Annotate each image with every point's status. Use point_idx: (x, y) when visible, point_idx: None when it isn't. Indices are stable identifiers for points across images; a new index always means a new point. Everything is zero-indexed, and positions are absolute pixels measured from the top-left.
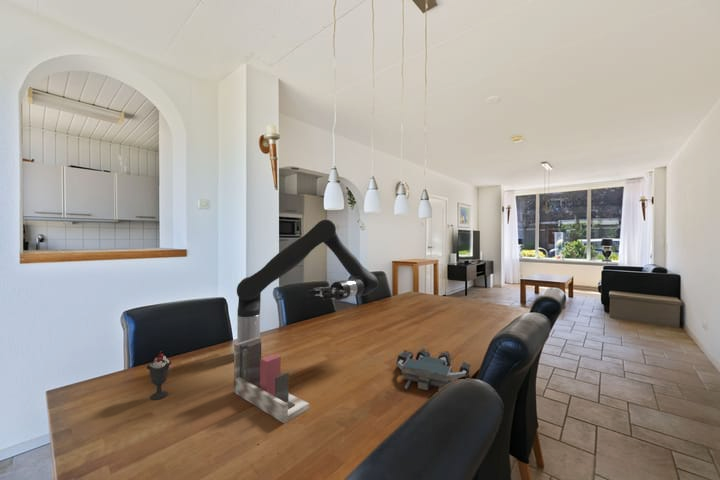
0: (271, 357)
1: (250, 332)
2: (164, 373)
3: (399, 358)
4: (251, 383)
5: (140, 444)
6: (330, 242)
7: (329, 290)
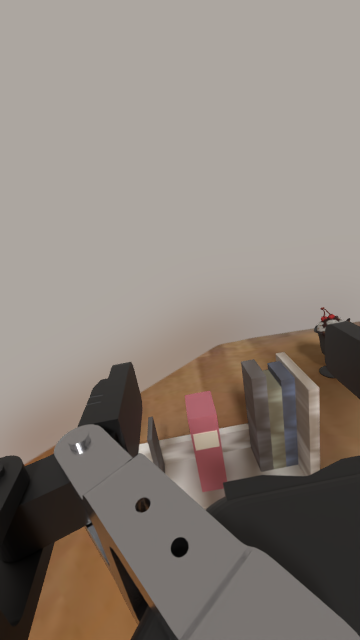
0: (199, 405)
1: None
2: (323, 343)
3: None
4: (251, 438)
5: (222, 366)
6: None
7: (269, 495)
